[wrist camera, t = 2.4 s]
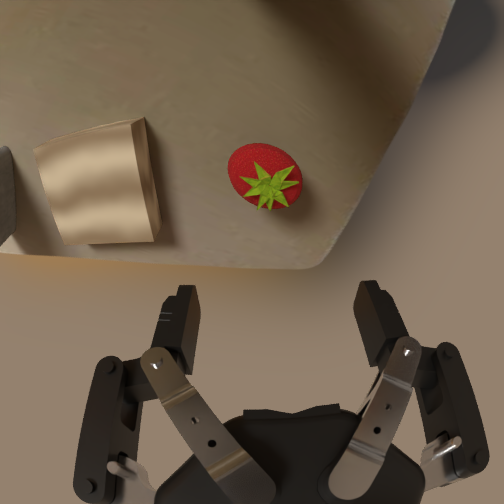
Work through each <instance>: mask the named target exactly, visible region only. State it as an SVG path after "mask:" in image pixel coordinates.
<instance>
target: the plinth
mask: <svg viewBox="0 0 504 504" xmlns="http://www.w3.org/2000/svg"><path fill="white" fill-rule="evenodd" d="M34 153H35V157H36V161H37V165H38V169H39V173H40V176H41V180H42V183H43V186H44V189H45V193H46V196H47V199H48V202H49V205H50V208H51V211H52V213H53V216H54V219H55V222H56V224H57V227H58V230H59V232H60V235H61V237H62V240H63V242H64V245H79V244H102V243H128V242H154V241H155V239H156V237H157V235H158V232H159V230H160V228H161V226H162V224H163V223H162V219H161V214H160V209H159V204H158V199H157V194H156V189H155V183H154V178H153V172H152V166H151V161H150V154H149V148H148V141H147V135H146V127H145V120H144V117H142V118H136V119H130V120H125V121H120V122H115V123H111V124H106V125H102V126H97V127H93V128H89V129H85V130H82V131H78V132H74V133H71V134H67V135H64V136H60V137H57V138H54V139H51V140H49V141H47V142H45V143H44V144H42V145H40V146H38V147H36V148H35V149H34Z"/></svg>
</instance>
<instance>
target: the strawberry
mask: <svg viewBox="0 0 504 504" xmlns="http://www.w3.org/2000/svg"><path fill="white" fill-rule="evenodd" d="M228 174H229V178H230V181H231V183H232V185H233V187H234V189H235V190H236V191H237V192H238V194H239V195H240V196H242V197H243V198H244V199H245V200H247V201H248V202H250V203H252V204H254V205H256V206H258V207H257V210H258V209H259V208H260V207H262V208H268V209H269V210H270V211H271V209H278V208H284V207H286V206H287V207H289V205H291V204H292V203H294V202H295V201H296V200H297V199H298V197H299V195H300V193H301V190H302V174H301V171H300V169H299V167H298V165H297V164H296V162H295V161H294V160H293V159H292V158H291V156H290V155H288V154H287V153H286V152H284V151H283V150H281V149H279V148H277V147H275V146H272V145H268V144H263V143H253V144H247V145H245V146H242V147H240V148H239V149H237V150H236V151H235V152H234V153H233V154H232V155H231V157H230V159H229V162H228Z"/></svg>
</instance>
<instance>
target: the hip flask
mask: <svg viewBox="0 0 504 504" xmlns="http://www.w3.org/2000/svg"><path fill="white" fill-rule="evenodd" d="M15 230H16V199H15V184H14V173H13V164H12V155H11V151H10V150H9V148H8V147H6V146H3V147H1V148H0V246H1V245H2V244H3V243H4V242H5V241H6V240H7V238H8V237H9V236H10V235H11V234H12V233H13V232H14V231H15Z"/></svg>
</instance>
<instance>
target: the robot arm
mask: <svg viewBox="0 0 504 504" xmlns="http://www.w3.org/2000/svg"><path fill="white" fill-rule="evenodd" d="M353 309H354V315H355V318H356V321H357V324H358V328H359V331H360V334H361V337H362V341H363V344H364V347H365V351H366V354H367V357H368V361H369V365H370V367H374V366H378V369H379V371H378V373H377V375H376V377H375V379H374V381H373V383H372V385H371V388H370V389H369V391H368V393H367V396H366V397H365V399H364V401H363V403H362V404H361V406H360V408H359V409H358V411H357V412H356V414H355V413H353V412H350V411H348V410H343V409H340V406H339V403H338V404H331V405H322V406H315V407H312V408H309V409H306V410H303V411H300V412H297V413H293V414H291V413H285V412H279V411H274V410H268V409H263V410H243V415H242V416H238V417H235V418H233V419H231V420H229V421H227V422H225V423H224V424H222V423H221V422H220V421H219V419H218V418H217V417H216V415H215V414H214V413H213V412H212V410H211V409H210V408H209V406H208V405H207V404H206V402H205V401H204V400H203V398H202V397H201V396H200V394H199V393H198V392H197V390H196V389H195V388H194V387H193V386H192V385H191V384H190V383H189V381H188V380H187V378H186V377H185V374H186V375H187V374H188V375H192V371H193V364H194V357H195V350H196V343H197V336H198V330H199V324H200V313H201V312H200V304H199V300H198V295H197V291H196V286H195V285H179V287H178V291H177V295H176V296H169V297H168V298H167V299H166V300H165V302H164V303H163V305H162V308H161V314H160V315H159V321H158V322H157V326H156V330H155V333H154V337H153V341H152V345H151V348H150V349H148V350H147V351H145V353H144V354H143V355H142V357H140V358H137V359H133V360H128V361H123V362H122V361H121V360H120V359H119V358H118V357H115V356H107V357H105V358H103V359H101V360H100V361H99V362H98V364H97V366H96V369H95V373H94V377H93V380H92V384H91V388H90V392H89V396H88V400H87V404H86V409H85V414H84V418H83V423H82V428H81V433H80V439H79V444H78V450H77V457H76V463H75V471H74V479H73V487H74V491H75V493H76V495H77V496H78V497H79V498H80V499H81V500H83V501H84V502H86V503H90V504H420V502H421V499H422V496H423V493H424V492H425V491H428V490H430V489H433V488H436V487H443V486H446V485H449V484H452V483H455V482H457V481H460V480H463V479H465V478H468V477H470V476H473V475H475V474H477V473H479V472H481V471H483V470H484V469H485V468H486V466H487V464H488V462H489V450H488V444H487V440H486V436H485V431H484V427H483V423H482V419H481V416H480V412H479V409H478V405H477V402H476V399H475V395H474V392H473V389H472V386H471V383H470V380H469V377H468V375H467V372H466V369H465V367H464V364H463V361H462V359H461V356H460V353H459V351H458V349H457V348H456V347H455V346H454V345H453V344H451V343H448V342H443V343H441V344H439V345H438V347H437V348H429V347H423V346H421V345H420V343H419V342H418V341H417V340H416V339H414V338H412V337H410V336H409V334H408V332H407V329H406V327H405V325H404V322H403V320H402V318H401V316H400V313H398V309H397V307H396V304H395V303H394V300H393V298H392V297H391V295H390V294H389V293H388V292H387V291H386V290H381V289H380V287H379V285H378V283H377V281H376V280H369V281H361V282H360V284H359V287H358V291H357V294H356V298H355V301H354V307H353ZM412 387H414V388H415V392H416V395H417V400H418V404H419V408H420V413H421V417H422V421H423V426H424V432H425V437H426V443H427V445H426V446H425V447H424V449H423V451H422V457H421V464H420V466H419V465H418V464H417V463H416V462H414V461H413V460H412V459H411V458H409V457H408V456H407V455H406V454H404V453H403V452H402V451H401V450H400V449H398V448H397V447H396V446H395V445H394V444H392V443H391V441H392V440H393V437H394V435H395V433H396V431H397V429H398V426H399V424H400V422H401V419H402V417H403V415H404V412H405V410H406V407H407V405H408V402H409V399H410V397H411V394H412V390H413V389H412ZM158 398H159V399H160V401H161V403H162V406H163V407H164V409H165V411H166V412H167V414H168V415H169V417H170V419H171V420H172V422H173V423H174V425H175V426H176V428H177V429H178V431H179V433H180V434H181V436H182V437H183V438H184V440H185V441H186V443H187V444H188V446H189V447H190V448H191V450H192V451H193V452H194V454H193V455H192V456H191V457H190V458H189V459H188V460H187V461H186V462H185V463H184V464H183V465H182V466H181V467H180V468H179V469H178V470H176V471H175V472H174V473H173V474H172V475H171V476H170V477H169V478H168V479H167V480H166V481H165V482H164V483H163V484H162V485H161V486H160V487H159V488H158V490H157V491H156V490H155V489H153V488H152V486H151V485H150V483H149V480H148V474H147V471H146V470H145V468H144V467H143V466H142V465H141V464H139V463H137V451H138V441H139V432H140V423H141V415H142V407H143V401H148V400H153V399H158Z"/></svg>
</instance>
